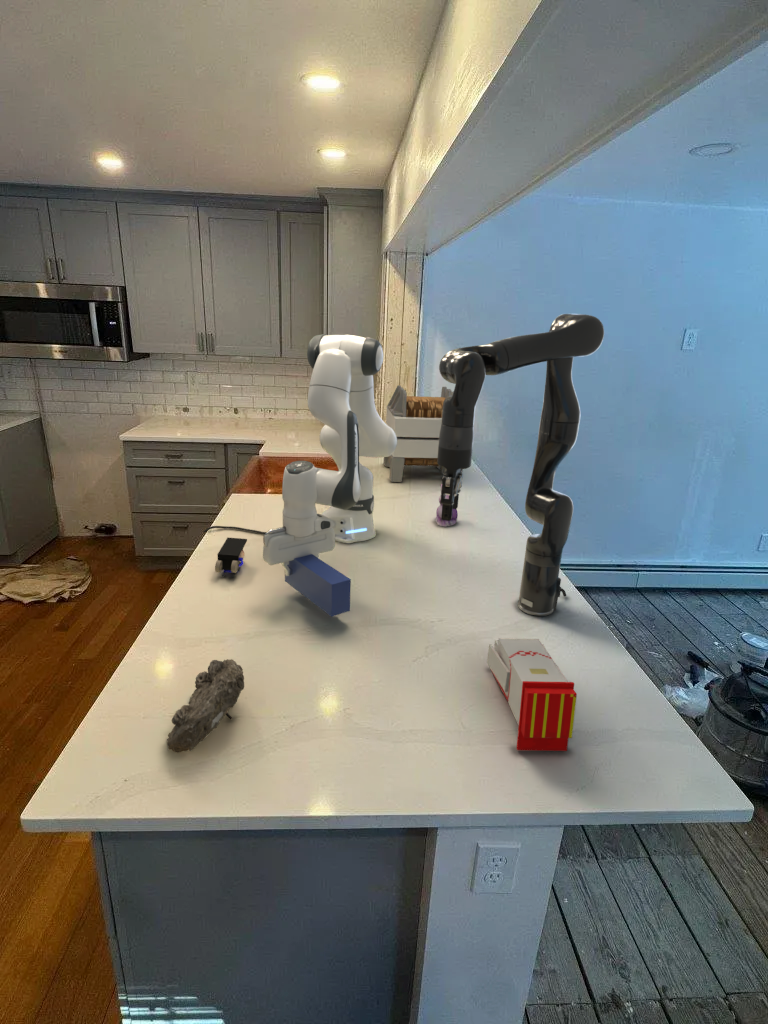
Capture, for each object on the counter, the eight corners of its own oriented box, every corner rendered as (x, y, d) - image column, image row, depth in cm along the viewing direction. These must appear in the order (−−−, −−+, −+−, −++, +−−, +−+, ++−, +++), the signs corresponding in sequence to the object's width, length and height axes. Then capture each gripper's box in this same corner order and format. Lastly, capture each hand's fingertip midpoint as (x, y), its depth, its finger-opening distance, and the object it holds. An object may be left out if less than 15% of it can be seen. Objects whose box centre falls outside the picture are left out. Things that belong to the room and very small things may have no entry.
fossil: (192, 660, 117) (244, 628, 112) (224, 691, 120) (276, 661, 115) (142, 746, 98) (202, 712, 93) (182, 779, 101) (242, 748, 96)
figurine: (442, 528, 206) (446, 489, 201) (428, 519, 214) (431, 481, 209) (464, 525, 210) (468, 486, 205) (449, 516, 218) (452, 479, 213)
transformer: (382, 463, 289) (386, 382, 275) (445, 464, 293) (451, 384, 279) (390, 482, 257) (394, 392, 243) (460, 483, 261) (468, 394, 247)
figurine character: (238, 584, 162) (249, 557, 175) (236, 562, 158) (247, 536, 172) (215, 584, 161) (227, 556, 175) (212, 561, 158) (225, 535, 171)
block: (284, 581, 155) (284, 551, 152) (302, 576, 158) (302, 547, 155) (331, 617, 138) (331, 584, 135) (349, 610, 141) (350, 579, 138)
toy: (536, 621, 128) (586, 689, 98) (531, 676, 131) (578, 758, 101) (482, 620, 127) (517, 688, 98) (478, 675, 130) (511, 757, 101)
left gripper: (269, 535, 140) (270, 585, 144) (338, 520, 152) (337, 567, 156) (257, 527, 144) (259, 576, 149) (326, 513, 156) (325, 559, 161)
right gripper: (468, 453, 117) (461, 526, 123) (476, 440, 130) (470, 506, 135) (432, 449, 119) (427, 522, 124) (444, 436, 132) (439, 502, 137)
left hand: (300, 571), depth 153 cm, fingers closed on block, 5 cm apart
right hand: (449, 513), depth 130 cm, fingers open, 8 cm apart
